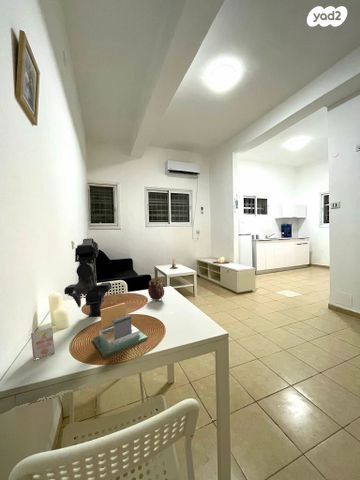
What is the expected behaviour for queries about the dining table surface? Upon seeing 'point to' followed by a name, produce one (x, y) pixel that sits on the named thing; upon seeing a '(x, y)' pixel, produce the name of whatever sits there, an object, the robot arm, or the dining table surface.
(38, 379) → the dining table surface
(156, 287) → the brown rounded piece
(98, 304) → the robot arm
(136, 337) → the grey and green stand
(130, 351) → the dining table surface
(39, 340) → the pink printed box
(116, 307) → the tan square pad
